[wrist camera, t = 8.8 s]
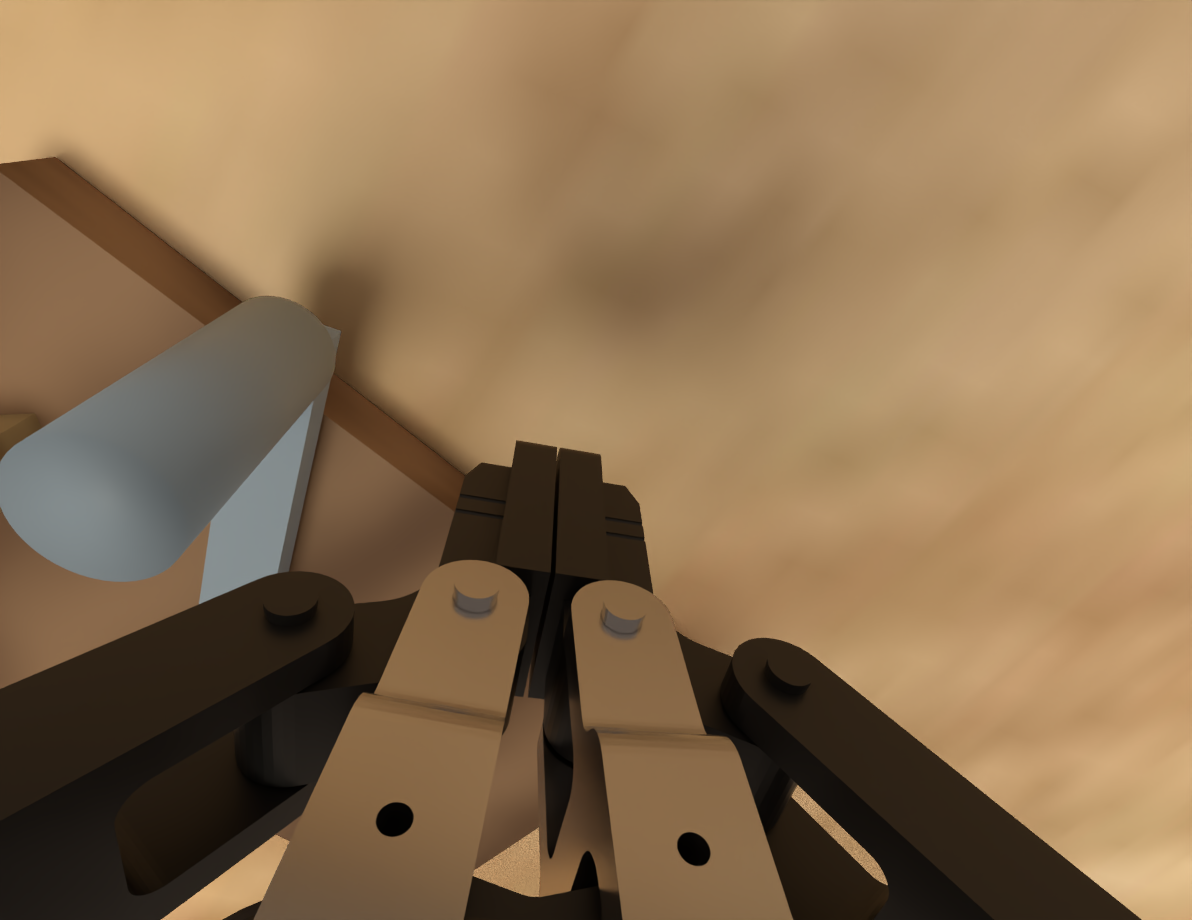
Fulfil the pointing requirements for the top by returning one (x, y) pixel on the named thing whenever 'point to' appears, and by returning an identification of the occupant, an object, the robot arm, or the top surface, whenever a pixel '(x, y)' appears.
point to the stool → (323, 543)
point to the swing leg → (184, 455)
